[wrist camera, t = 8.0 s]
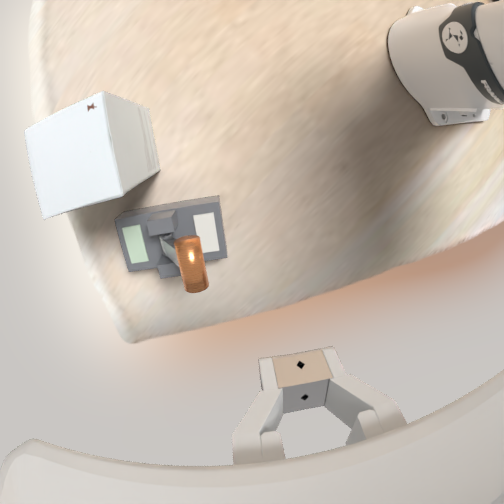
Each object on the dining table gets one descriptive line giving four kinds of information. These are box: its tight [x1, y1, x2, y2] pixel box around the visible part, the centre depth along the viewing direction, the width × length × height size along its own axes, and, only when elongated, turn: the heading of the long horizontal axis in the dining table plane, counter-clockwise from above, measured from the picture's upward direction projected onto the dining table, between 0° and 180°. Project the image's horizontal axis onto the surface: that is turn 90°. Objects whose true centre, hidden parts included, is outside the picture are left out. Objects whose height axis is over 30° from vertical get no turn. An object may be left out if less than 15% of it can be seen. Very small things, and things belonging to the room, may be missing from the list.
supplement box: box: [24, 91, 160, 219], centre depth 20 cm, size 7×7×13 cm
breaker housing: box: [115, 195, 227, 278], centre depth 27 cm, size 11×6×6 cm, turn 95°
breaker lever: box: [159, 233, 209, 293], centre depth 23 cm, size 2×4×8 cm
